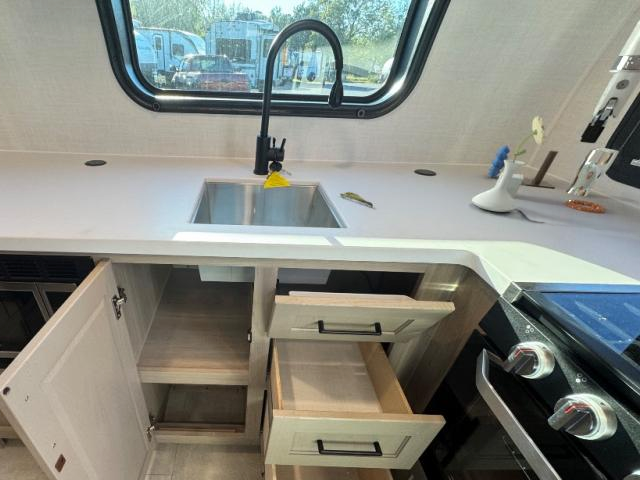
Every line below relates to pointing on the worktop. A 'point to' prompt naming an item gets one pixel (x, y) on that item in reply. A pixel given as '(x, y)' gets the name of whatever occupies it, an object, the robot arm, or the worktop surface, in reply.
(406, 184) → the worktop surface
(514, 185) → the product carton
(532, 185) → the stand
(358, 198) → the green bird figurine
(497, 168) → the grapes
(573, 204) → the ring
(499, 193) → the flower in vase
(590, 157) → the beer glass
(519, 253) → the worktop surface
